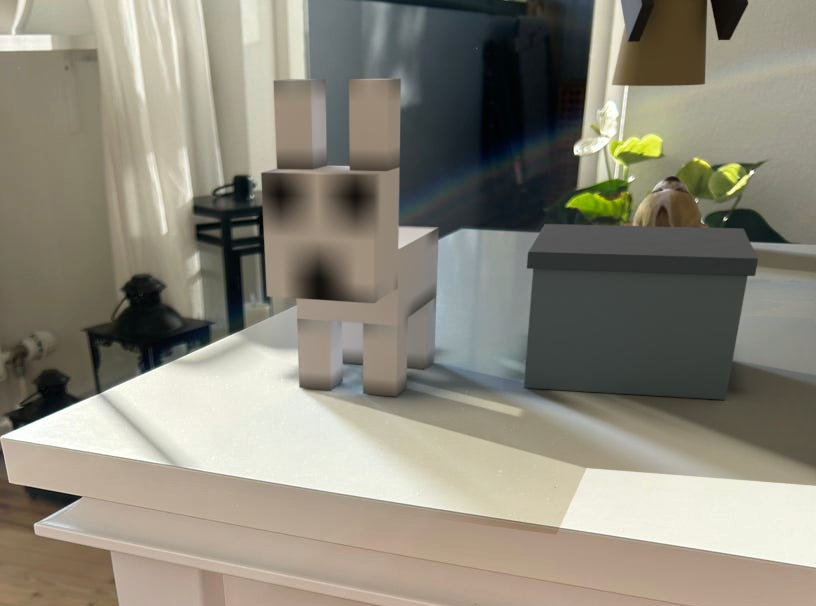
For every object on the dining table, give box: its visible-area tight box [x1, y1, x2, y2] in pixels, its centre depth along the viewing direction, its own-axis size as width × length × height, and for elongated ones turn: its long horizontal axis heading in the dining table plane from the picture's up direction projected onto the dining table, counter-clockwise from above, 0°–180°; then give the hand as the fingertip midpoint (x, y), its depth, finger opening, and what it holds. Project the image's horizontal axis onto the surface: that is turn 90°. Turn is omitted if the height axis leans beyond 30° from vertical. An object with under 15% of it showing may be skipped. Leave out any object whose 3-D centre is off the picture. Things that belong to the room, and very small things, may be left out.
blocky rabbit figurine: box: [260, 77, 440, 398], centre depth 72 cm, size 8×18×20 cm, turn 159°
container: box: [523, 223, 759, 401], centre depth 76 cm, size 15×13×10 cm
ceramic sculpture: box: [620, 175, 711, 228], centre depth 118 cm, size 11×9×15 cm
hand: (686, 22), depth 64 cm, fingers closed on cork, 5 cm apart
